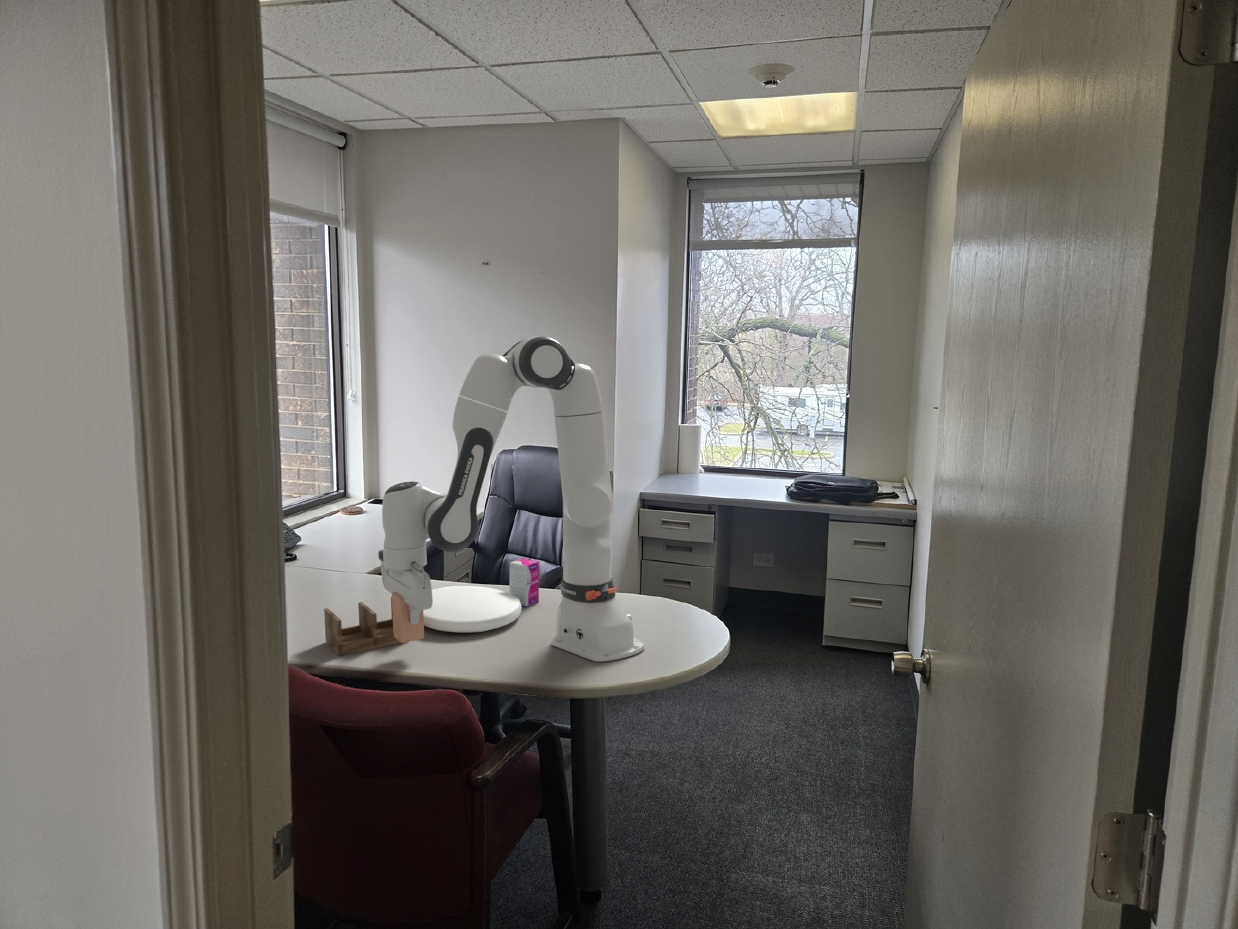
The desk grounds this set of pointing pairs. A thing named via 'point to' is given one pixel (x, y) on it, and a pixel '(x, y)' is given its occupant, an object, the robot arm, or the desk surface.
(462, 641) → the desk surface
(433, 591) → the plate
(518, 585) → the supplement box
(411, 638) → the terracotta block
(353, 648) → the desk organiser
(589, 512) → the robot arm
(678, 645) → the desk surface
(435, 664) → the desk surface
